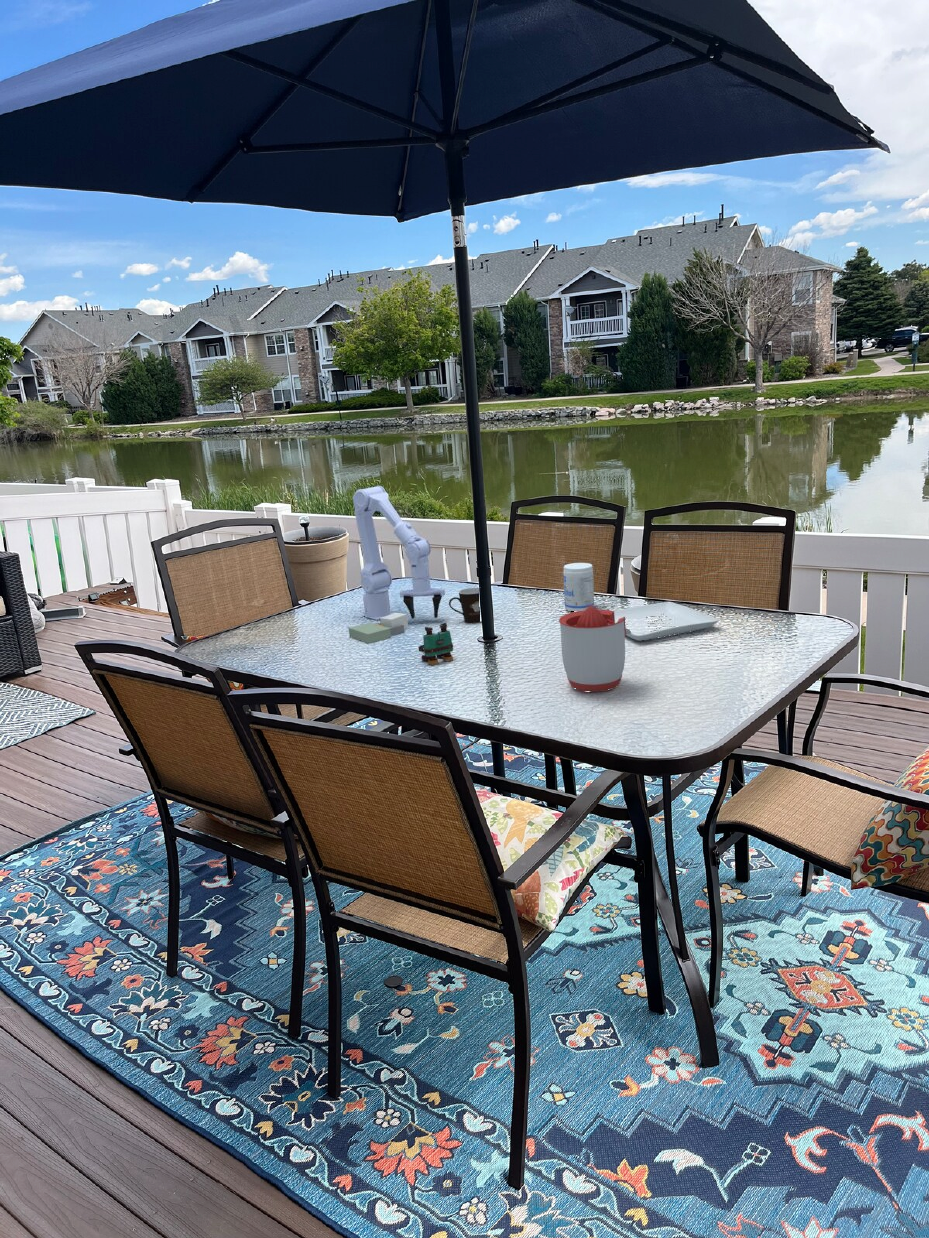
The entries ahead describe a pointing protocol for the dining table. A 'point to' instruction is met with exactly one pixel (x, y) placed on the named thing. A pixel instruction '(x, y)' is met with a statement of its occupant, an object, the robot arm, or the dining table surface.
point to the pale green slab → (374, 632)
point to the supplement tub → (578, 586)
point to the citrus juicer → (593, 648)
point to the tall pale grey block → (394, 620)
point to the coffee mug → (469, 604)
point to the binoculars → (437, 645)
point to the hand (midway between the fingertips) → (424, 617)
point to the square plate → (683, 615)
